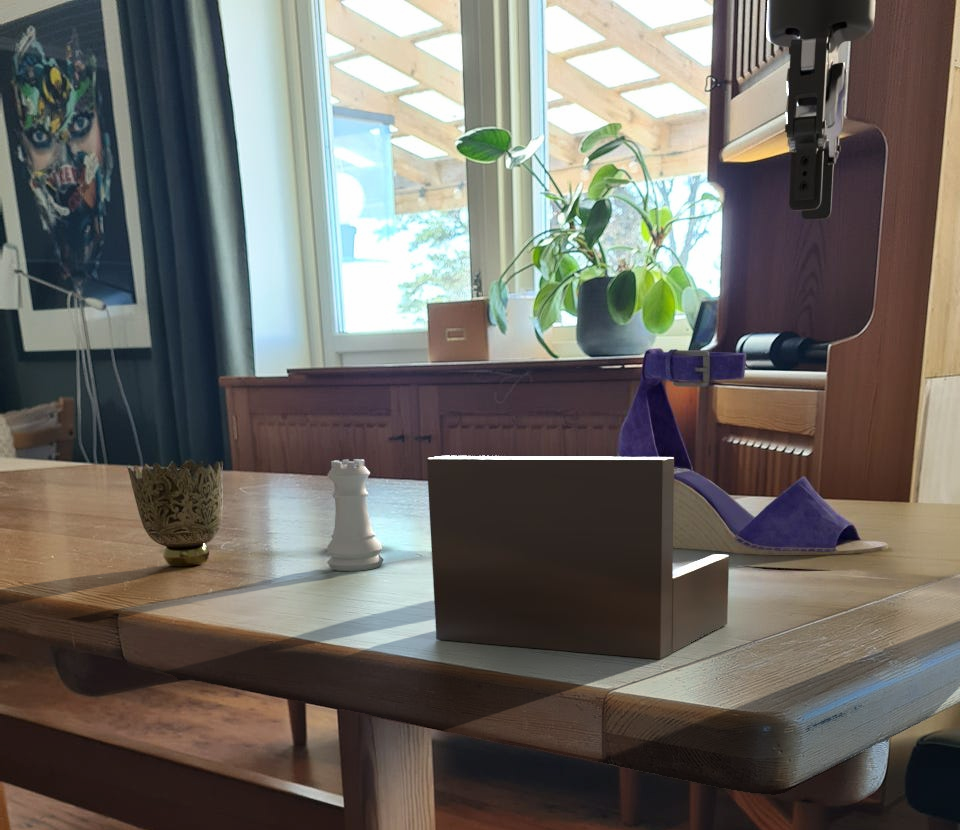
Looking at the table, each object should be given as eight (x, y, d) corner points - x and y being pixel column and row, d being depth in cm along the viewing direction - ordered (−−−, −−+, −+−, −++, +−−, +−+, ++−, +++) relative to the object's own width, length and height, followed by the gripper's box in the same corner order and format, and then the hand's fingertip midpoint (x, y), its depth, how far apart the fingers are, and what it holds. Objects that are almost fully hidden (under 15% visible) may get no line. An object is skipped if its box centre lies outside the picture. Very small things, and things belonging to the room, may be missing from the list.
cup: (251, 561, 106) (240, 460, 103) (176, 574, 101) (163, 468, 98) (197, 555, 110) (185, 458, 107) (123, 567, 105) (109, 466, 102)
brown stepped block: (518, 609, 81) (513, 444, 78) (727, 624, 74) (732, 444, 71) (436, 639, 74) (426, 458, 70) (660, 659, 67) (662, 459, 63)
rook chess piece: (353, 573, 97) (345, 464, 94) (315, 569, 100) (306, 462, 97) (396, 565, 100) (389, 458, 97) (357, 561, 103) (350, 457, 100)
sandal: (862, 577, 87) (878, 338, 81) (603, 563, 97) (601, 351, 92) (898, 559, 93) (915, 336, 87) (651, 547, 103) (652, 348, 98)
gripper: (872, -76, 83) (855, 203, 89) (883, -23, 96) (868, 218, 102) (755, -59, 86) (746, 211, 92) (781, -10, 98) (771, 225, 104)
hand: (810, 214), depth 97 cm, fingers open, 8 cm apart
